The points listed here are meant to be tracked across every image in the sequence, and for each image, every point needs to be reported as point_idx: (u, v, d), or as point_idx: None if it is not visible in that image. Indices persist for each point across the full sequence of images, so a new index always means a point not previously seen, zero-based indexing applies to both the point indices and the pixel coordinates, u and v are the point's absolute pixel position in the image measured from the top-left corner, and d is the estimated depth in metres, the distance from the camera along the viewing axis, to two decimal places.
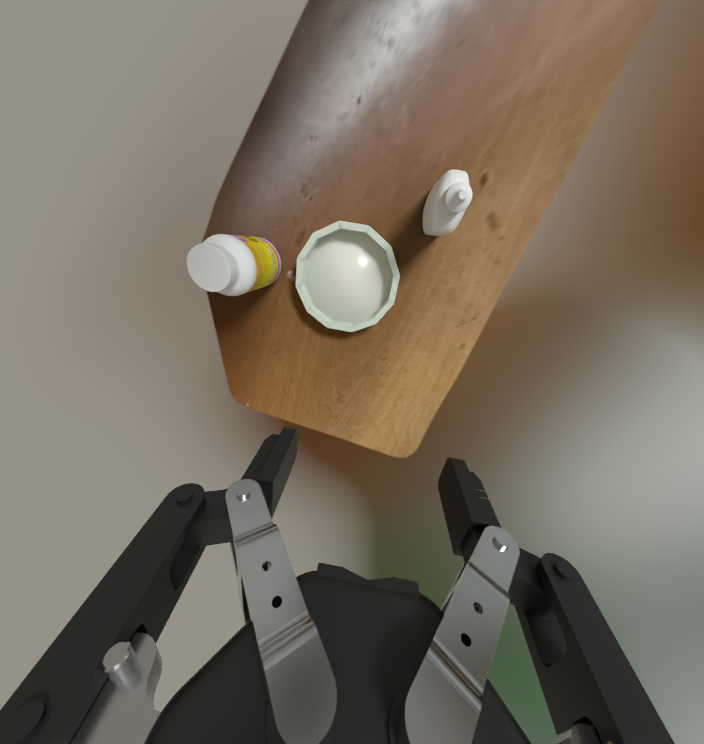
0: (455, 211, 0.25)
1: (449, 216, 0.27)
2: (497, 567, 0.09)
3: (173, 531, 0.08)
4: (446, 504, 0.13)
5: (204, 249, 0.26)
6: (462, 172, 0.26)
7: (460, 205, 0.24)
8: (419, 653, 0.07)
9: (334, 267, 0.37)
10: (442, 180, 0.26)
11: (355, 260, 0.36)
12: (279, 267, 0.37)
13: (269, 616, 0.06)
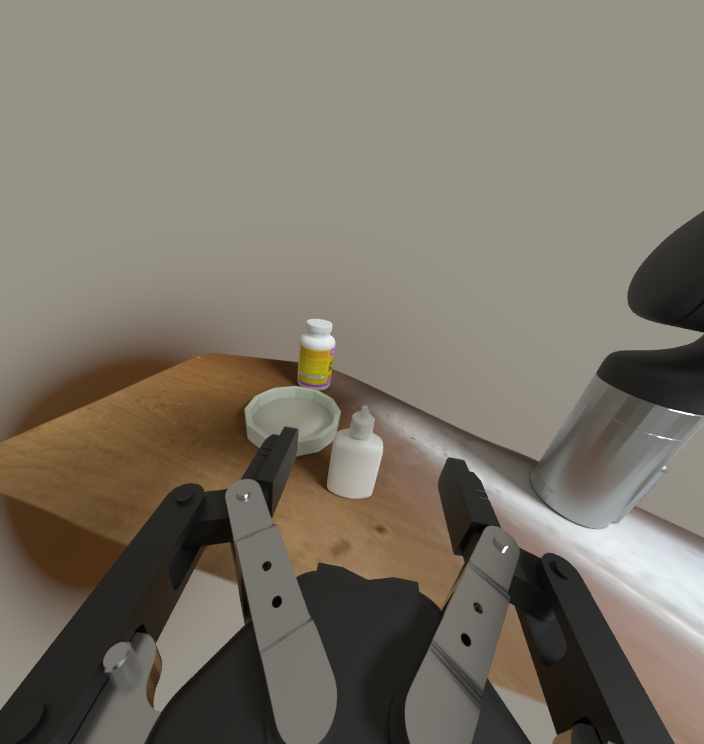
0: (353, 416, 0.28)
1: (348, 433, 0.29)
2: (497, 567, 0.09)
3: (173, 531, 0.08)
4: (446, 504, 0.13)
5: (329, 324, 0.48)
6: (381, 445, 0.29)
7: (357, 416, 0.27)
8: (419, 653, 0.07)
9: (305, 413, 0.43)
10: None
11: (309, 425, 0.41)
12: (309, 386, 0.50)
13: (269, 616, 0.06)
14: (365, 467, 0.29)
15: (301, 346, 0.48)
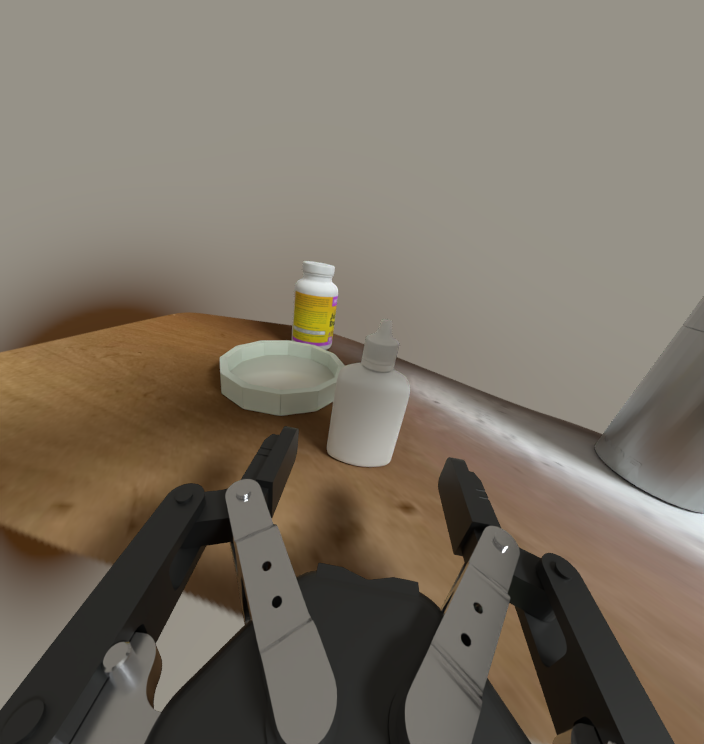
0: (367, 337, 0.18)
1: (359, 366, 0.19)
2: (497, 568, 0.09)
3: (173, 531, 0.08)
4: (446, 504, 0.13)
5: (331, 265, 0.39)
6: (408, 384, 0.19)
7: (374, 335, 0.18)
8: (419, 653, 0.07)
9: (300, 370, 0.34)
10: None
11: (304, 382, 0.31)
12: None
13: (269, 616, 0.06)
14: (384, 416, 0.19)
15: (296, 292, 0.39)
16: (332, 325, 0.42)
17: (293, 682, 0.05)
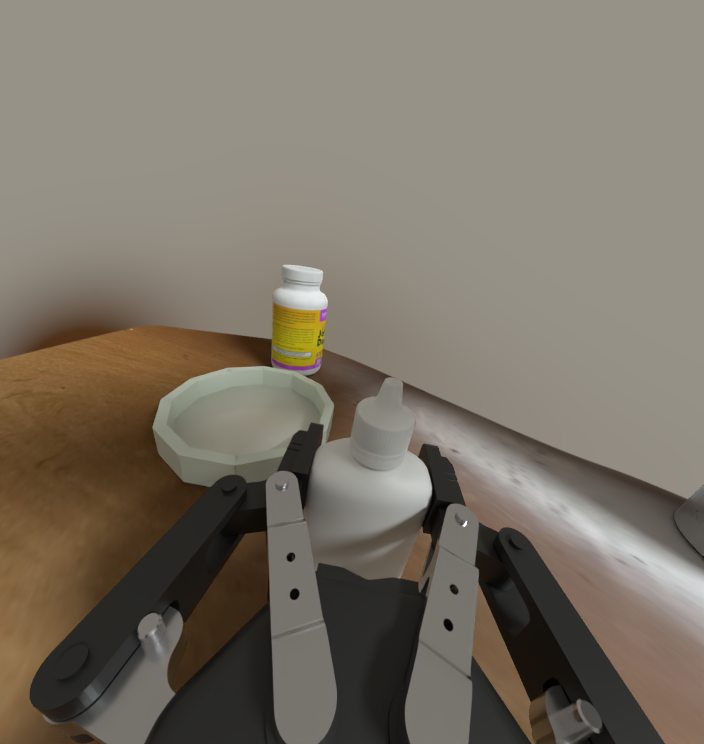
0: (358, 408, 0.10)
1: (345, 451, 0.11)
2: (462, 543, 0.09)
3: (214, 518, 0.09)
4: None
5: (318, 270, 0.31)
6: (429, 481, 0.11)
7: (372, 407, 0.10)
8: (407, 652, 0.06)
9: (275, 409, 0.26)
10: None
11: (279, 429, 0.23)
12: (288, 368, 0.33)
13: (285, 606, 0.06)
14: (389, 537, 0.11)
15: (274, 305, 0.31)
16: (321, 344, 0.34)
17: (293, 682, 0.05)
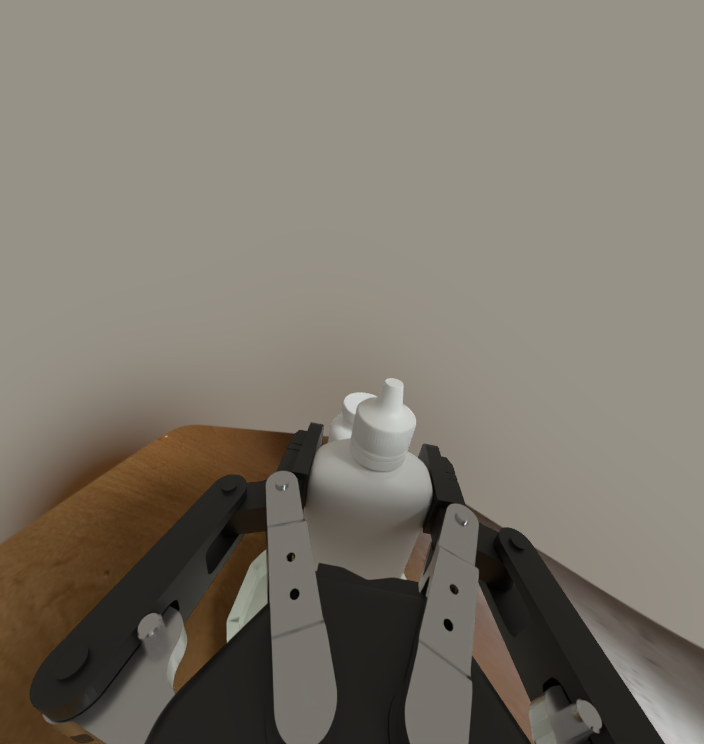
0: (358, 409, 0.10)
1: (345, 452, 0.11)
2: (463, 543, 0.09)
3: (214, 518, 0.09)
4: None
5: None
6: (429, 482, 0.11)
7: (372, 408, 0.10)
8: (407, 652, 0.06)
9: None
10: None
11: None
12: None
13: (285, 606, 0.06)
14: (389, 538, 0.11)
15: None
16: None
17: (293, 682, 0.05)
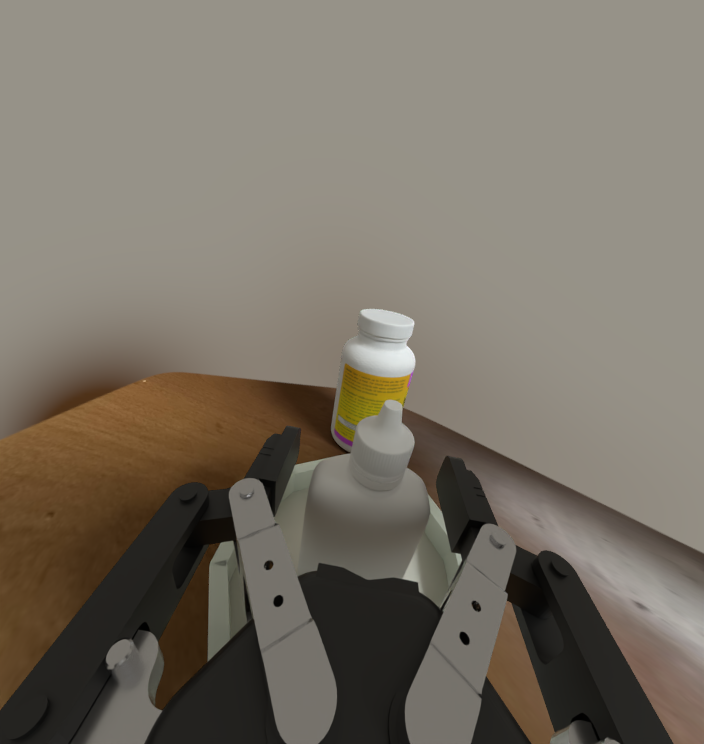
0: (358, 429, 0.11)
1: (345, 469, 0.12)
2: (494, 565, 0.09)
3: (176, 530, 0.08)
4: (444, 503, 0.13)
5: (407, 319, 0.22)
6: (427, 499, 0.12)
7: (371, 429, 0.10)
8: (418, 653, 0.07)
9: None
10: None
11: None
12: None
13: (270, 615, 0.06)
14: (386, 553, 0.12)
15: (347, 367, 0.22)
16: None
17: (293, 682, 0.05)
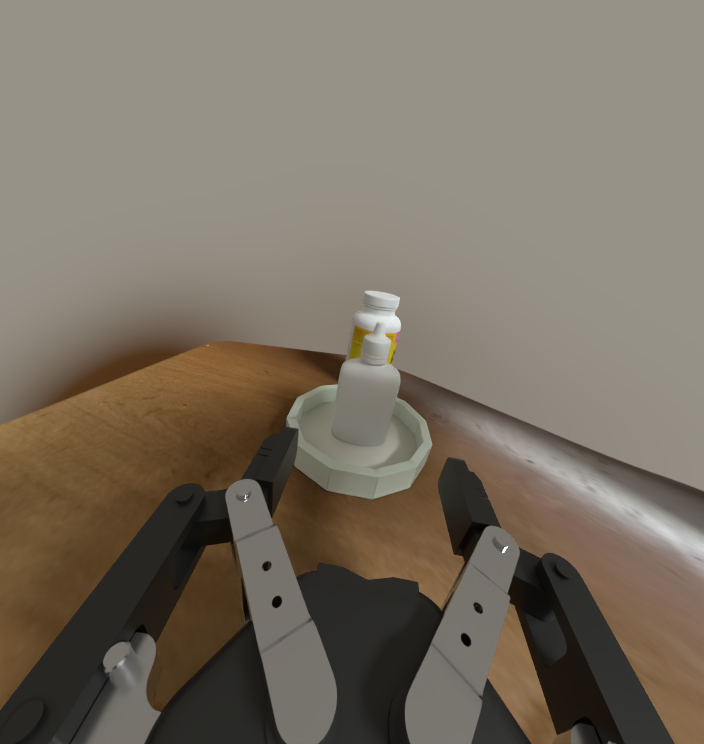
0: (365, 336, 0.23)
1: (358, 360, 0.23)
2: (497, 567, 0.09)
3: (173, 531, 0.08)
4: (446, 504, 0.13)
5: (395, 297, 0.34)
6: (399, 375, 0.23)
7: (371, 335, 0.22)
8: (419, 653, 0.07)
9: None
10: None
11: None
12: None
13: (269, 616, 0.06)
14: (379, 402, 0.23)
15: (356, 327, 0.34)
16: None
17: (293, 682, 0.05)
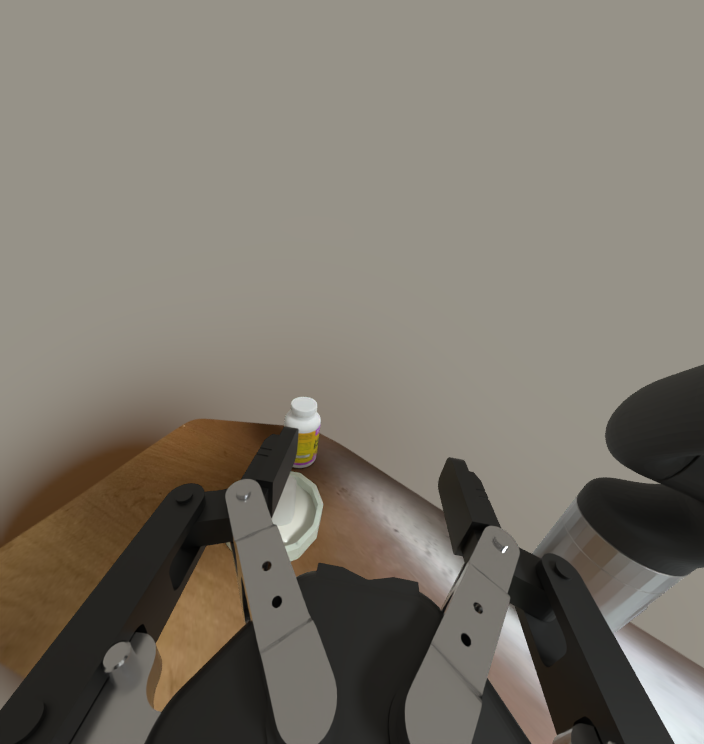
0: None
1: None
2: (497, 568, 0.09)
3: (173, 531, 0.08)
4: (446, 504, 0.13)
5: (314, 404, 0.47)
6: (293, 485, 0.37)
7: None
8: (419, 653, 0.07)
9: None
10: (291, 476, 0.38)
11: None
12: (294, 464, 0.49)
13: (269, 616, 0.06)
14: (280, 503, 0.37)
15: None
16: (316, 446, 0.50)
17: (293, 682, 0.05)
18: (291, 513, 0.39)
